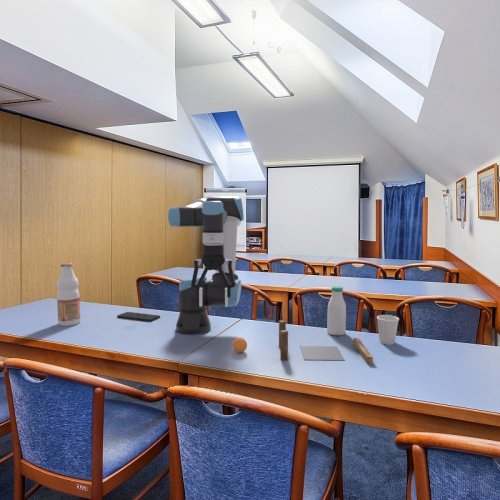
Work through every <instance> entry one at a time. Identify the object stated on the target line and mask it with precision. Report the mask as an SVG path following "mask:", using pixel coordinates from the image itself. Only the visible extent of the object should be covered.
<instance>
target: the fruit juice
mask: <svg viewBox="0 0 500 500" xmlns="http://www.w3.org/2000/svg"><path fill="white" fill-rule="evenodd" d="M73 265H74V264H73V263H72V262H67V263H66V262H65V263H61V264H60V267H61V271H60V274H59V277H58V279H57V280H56V287H57V292H56V301H57V302H56V303H57V322H58V325H59V326H61V327H69V326H77V325H79V324H80V323H81V303H80V299H81V298H80V291H79V288H78V287H79V279H78V278H77V276H76V275H75V273H74V270H73V267H74V266H73Z"/></svg>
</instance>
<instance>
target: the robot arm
mask: <svg viewBox="0 0 500 500" xmlns="http://www.w3.org/2000/svg"><path fill="white" fill-rule="evenodd" d="M244 217H245V216H244V207H243V200H242V198H241V197H240V196H233V195H232V196H205V197H201V198H198V199H195V200H193V201H192V202H191V203H190V204H188V205H185V206H174V207H173V206H172V207H170V208H169V209H168V213H167V221H168V224H169V225H170V226H171V227H174V228H175V227H176V228H180V227H181V228H183V227H185V228H187V227H193V228H194V227H198V228H199V227H200V228H202V244H203V245H202V258H201V259H195V260H194V261H193V265H194V269H193V272H192V276H188V277H185V278H182V279H181V280H180V281H179V290H178V292H179V314H178V318H177V320H176V323H175V325H176V326H175V331H176V332H178V333H180V334H184V335H196V334H197V335H198V334H203V333H206V332H208V331H209V332H210V330H211V324H212V323H211V321H210V317H209V315H208V312H207V307H225V308H228V307H236V306H238V304H239V301H240V297H241V292H242V280H241V279H239V276H238V274H237V273H236V262H237V261H236V258H237V237H238V227H239V226H241V223H242V222H244V221H245V218H244ZM201 264H203V267H204V268H203V270H202V273H201V275H198V272H199V268H200V266H201ZM208 271H214V272H213V274H212V275H211V279H207V276H206V275H207V273H208Z"/></svg>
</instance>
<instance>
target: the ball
mask: <svg viewBox="0 0 500 500" xmlns="http://www.w3.org/2000/svg"><path fill="white" fill-rule="evenodd" d="M231 344H232V345H231V346H232V349H233V351H234V352H235V353H238V354H239V353H240V354H241V353H244V352H245V351H246V350H247V348H248V342H247V340H246V339H245V338H243V337H240V336H239V337H236V338H235V339H233V340H232V343H231Z"/></svg>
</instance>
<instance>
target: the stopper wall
mask: <svg viewBox="0 0 500 500" xmlns="http://www.w3.org/2000/svg"><path fill="white" fill-rule="evenodd" d="M352 342H353V346H354V347H355V349H356V350H357V352H358V353H359V355H360V356H361V357H362V359H363V360H364V362H365V363H366V364H367V365H374V357H373V355H372V353H371V352H370V351H369V350H368V348H367V347H366V346H365V344H364V343H363V342H362V341H361V339H360V338H359V337H355V338H354V337H353V340H352Z"/></svg>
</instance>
